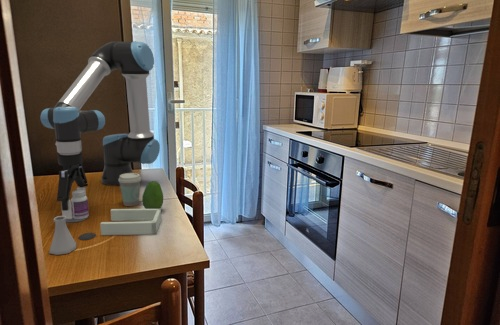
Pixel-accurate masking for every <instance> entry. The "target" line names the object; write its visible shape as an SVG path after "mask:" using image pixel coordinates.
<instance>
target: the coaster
mask: <svg viewBox="0 0 500 325" xmlns="http://www.w3.org/2000/svg"><path fill="white" fill-rule="evenodd" d="M88 218H89V216H88V217H87V218H84V219H74V218H73V217H72V219H66V220H65V221H66V223H68V224H69V223H80V222H82V221H85V220H87V219H88Z"/></svg>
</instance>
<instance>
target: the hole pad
mask: <svg viewBox="0 0 500 325" xmlns="http://www.w3.org/2000/svg"><path fill="white" fill-rule="evenodd" d="M95 237H97V235H96V233H94V232H86V233H82V234H81V235H79V236H78V240H80V241H89V240H92V239H94V238H95Z"/></svg>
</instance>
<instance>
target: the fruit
mask: <svg viewBox="0 0 500 325" xmlns="http://www.w3.org/2000/svg"><path fill="white" fill-rule="evenodd" d="M141 199H142V205H143V207H144V209H162V207H163V204H164V193H163V190H162V186H161V184H160V183H159V182H158V181H155V180H152V181H150V182H148V183H147V184H146V186H145V189H144V191H143V193H142V197H141Z"/></svg>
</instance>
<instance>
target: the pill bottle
mask: <svg viewBox="0 0 500 325" xmlns="http://www.w3.org/2000/svg"><path fill="white" fill-rule="evenodd" d="M71 195H72V197H71V199H70V201H71V211H72V217H73V218H74V219H84V218H87V217H88V218H89V215H90V211H89V200H88V196H87V195H86V196H85V191H84V190H77V189H76V190H72V192H71ZM88 218H87V219H88Z"/></svg>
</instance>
